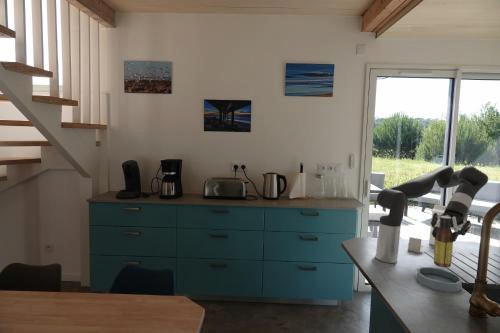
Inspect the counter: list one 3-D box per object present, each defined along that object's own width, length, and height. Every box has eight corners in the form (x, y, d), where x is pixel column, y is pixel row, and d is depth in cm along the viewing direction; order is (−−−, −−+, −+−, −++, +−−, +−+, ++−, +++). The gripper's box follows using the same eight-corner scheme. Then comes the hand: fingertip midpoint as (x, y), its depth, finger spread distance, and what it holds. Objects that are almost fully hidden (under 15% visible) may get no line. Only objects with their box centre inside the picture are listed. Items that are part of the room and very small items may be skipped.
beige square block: (408, 249, 176) (409, 235, 175) (423, 252, 172) (424, 238, 172) (407, 251, 173) (409, 237, 172) (422, 254, 169) (424, 239, 169)
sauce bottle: (448, 263, 136) (454, 216, 134) (452, 269, 130) (458, 220, 128) (430, 260, 138) (436, 214, 136) (433, 266, 132) (439, 217, 130)
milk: (440, 246, 181) (445, 207, 179) (428, 243, 186) (433, 205, 183) (443, 244, 186) (448, 205, 184) (431, 241, 190) (435, 203, 188)
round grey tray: (408, 274, 141) (409, 266, 141) (442, 274, 143) (443, 267, 143) (432, 291, 126) (433, 283, 126) (470, 291, 128) (471, 283, 127)
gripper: (480, 215, 134) (464, 249, 128) (442, 208, 145) (426, 238, 139) (476, 204, 130) (460, 238, 124) (438, 197, 141) (421, 228, 136)
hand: (442, 238), depth 132 cm, fingers closed on sauce bottle, 6 cm apart
